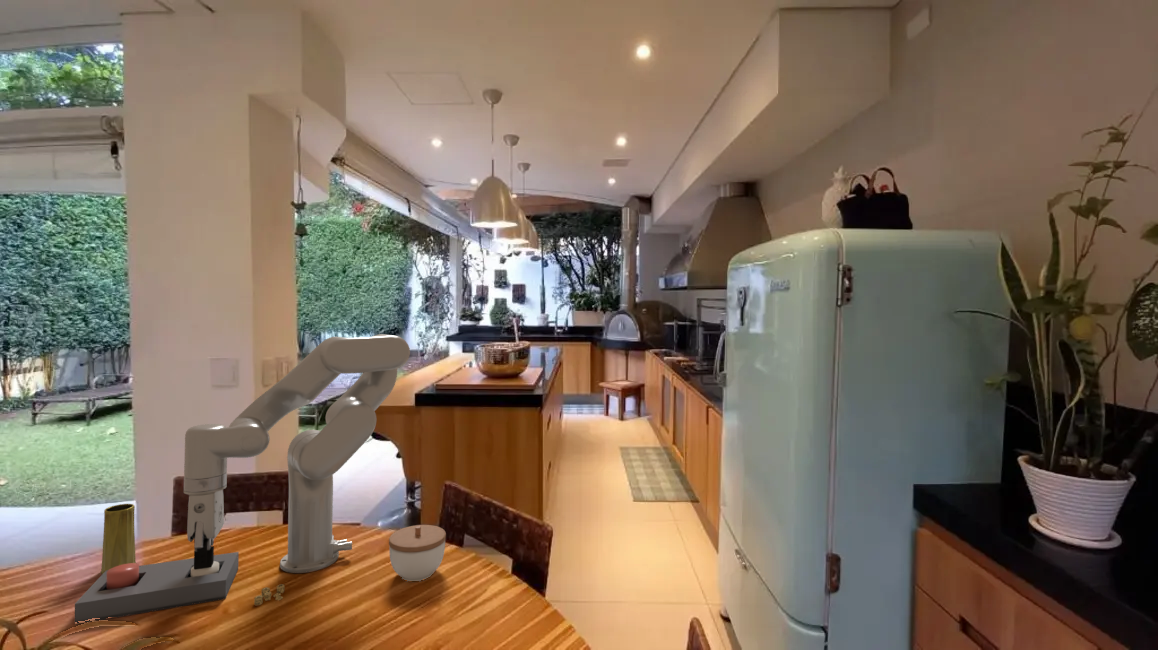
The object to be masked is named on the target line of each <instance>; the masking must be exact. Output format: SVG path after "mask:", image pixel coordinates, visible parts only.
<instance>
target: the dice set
mask: <svg viewBox="0 0 1158 650" xmlns="http://www.w3.org/2000/svg"><path fill="white" fill-rule="evenodd" d="M270 590H271V589H270V587H263V588H262V589H261V595H256V596H255V597H254V600H253V601H254V602H253V603H254V606H261V605H263V600H264V601H265V602H267V601H271V600H272V599H271V598H272V597H273V598H275V601H278V602H279V601H280V600H282V599H284V597H283V596H281V595H282V594H284V592H285V584H282V583H280V584H278V585H276V593H275V594H273V596H272V591H270Z"/></svg>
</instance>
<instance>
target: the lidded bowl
mask: <svg viewBox="0 0 1158 650" xmlns="http://www.w3.org/2000/svg"><path fill="white" fill-rule="evenodd" d="M446 538H447V533H446V531H445V529H443V528H442V527H440V526H437V525H431V524H416V525H411V526H406V527H403V528H400V529H397V530H396V531H394V532H393V533H392V534H391V535H390V536H389V538H388V545H389V548H388V549H389V560H390V565H391V568H392V570H394V572H395V573H396V574H397V575H398V576H400V578H401V577H402V578H401V580H403V579H404V580H407V581H406V582H408V581H419V582H422V581H421V580H423V579H426V578H428V577H430V576H431V575H432V574H433V575H434V573H435V572H436V571H437V570H438V569H439V567H440V565H441V563H442V561H443V558H444V555H445V549H446ZM433 575H432V576H433ZM432 576H431V577H432ZM431 577H430V578H431ZM428 579H429V578H428ZM404 580H403V581H404ZM426 580H427V579H426ZM423 581H424V580H423Z"/></svg>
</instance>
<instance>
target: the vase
mask: <svg viewBox="0 0 1158 650" xmlns="http://www.w3.org/2000/svg"><path fill="white" fill-rule="evenodd" d="M135 508H136V507H135V504H133V503H123V504H116V505H112V506H109V507H106V508H105V509H104V513H103V514H104V518H103V521H104V522H103V537H102V538H103V539H102V555H101V567H100V569H101V570H100V574H101V575H102V574H103V573H104V572H105V571H106V570H109V569H111V568H113V567H116V566H119V565H123V564H128V563H137V562H136V539H135V538H136V537H135V536H136V535H135V510H136V509H135Z"/></svg>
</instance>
